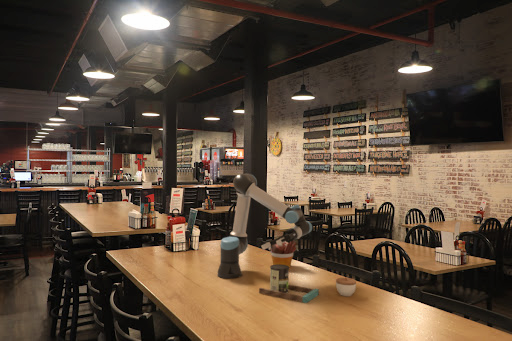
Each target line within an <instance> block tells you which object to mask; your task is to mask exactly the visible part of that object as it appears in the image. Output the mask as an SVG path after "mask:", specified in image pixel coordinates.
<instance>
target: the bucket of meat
mask: <svg viewBox="0 0 512 341" xmlns="http://www.w3.org/2000/svg"><path fill="white" fill-rule="evenodd" d="M296 246H297V243H296V242H295V240H294V241H292V242H290V241H286V242H284V243H282V244H280V245H277V244H274V245H272V246H271V247H269V248H268V250H269V251H270V255H271V259H272V260H271V261H272V265H276V264H282V265H287V266H289V268H290V267H292V266H291V265H292V261H293V257H294V252H296V250H297V247H296Z"/></svg>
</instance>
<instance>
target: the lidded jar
mask: <svg viewBox="0 0 512 341" xmlns="http://www.w3.org/2000/svg"><path fill="white" fill-rule="evenodd" d="M335 283H336V284H335V285H336V290H337V292H338V293H339V295H340V296H342V297H352V296H353V294H354V293H355V292H356V289H357V288H356V287H357V280H356V279H354V278H351V277H347V276H345V277H337V278H336V279H335Z"/></svg>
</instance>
